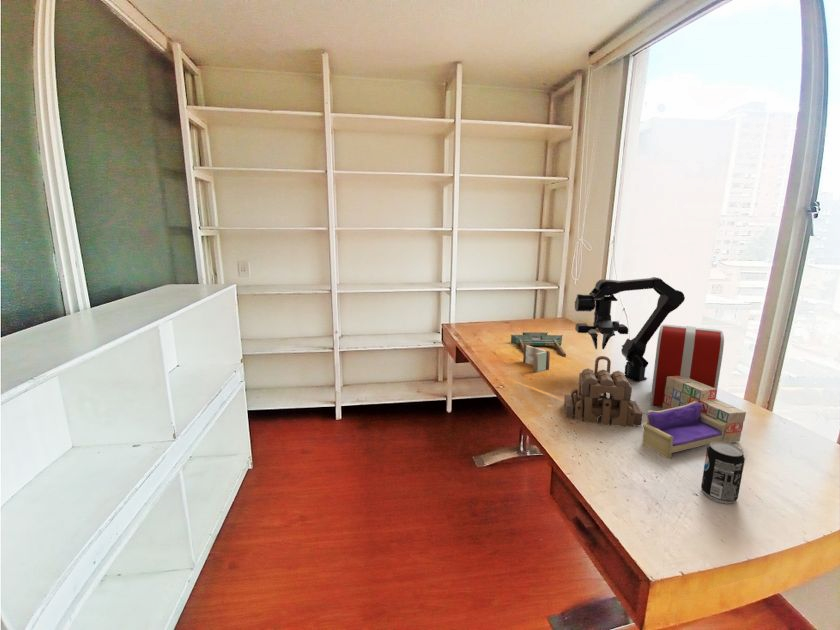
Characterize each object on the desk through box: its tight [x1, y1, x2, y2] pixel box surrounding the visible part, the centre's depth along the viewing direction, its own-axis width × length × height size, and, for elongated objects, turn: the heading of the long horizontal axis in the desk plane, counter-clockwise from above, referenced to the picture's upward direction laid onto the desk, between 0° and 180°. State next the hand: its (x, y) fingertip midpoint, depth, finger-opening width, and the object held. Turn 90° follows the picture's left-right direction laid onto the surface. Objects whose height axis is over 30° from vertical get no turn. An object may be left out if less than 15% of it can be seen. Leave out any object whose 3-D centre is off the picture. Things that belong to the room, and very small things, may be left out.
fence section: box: [522, 345, 551, 371], centre depth 171 cm, size 14×2×8 cm, turn 35°
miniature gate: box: [510, 331, 567, 358], centre depth 200 cm, size 27×6×30 cm
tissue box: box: [649, 324, 725, 409], centre depth 132 cm, size 17×18×27 cm
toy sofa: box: [642, 401, 727, 460], centre depth 108 cm, size 21×9×10 cm, turn 107°
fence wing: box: [532, 352, 547, 373], centre depth 164 cm, size 6×2×8 cm, turn 115°
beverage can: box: [700, 441, 746, 505], centre depth 87 cm, size 7×7×12 cm
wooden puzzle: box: [563, 355, 643, 428], centre depth 125 cm, size 22×15×19 cm, turn 73°
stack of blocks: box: [661, 376, 747, 444], centre depth 118 cm, size 21×6×12 cm, turn 12°
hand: (599, 349), depth 157 cm, fingers open, 2 cm apart
